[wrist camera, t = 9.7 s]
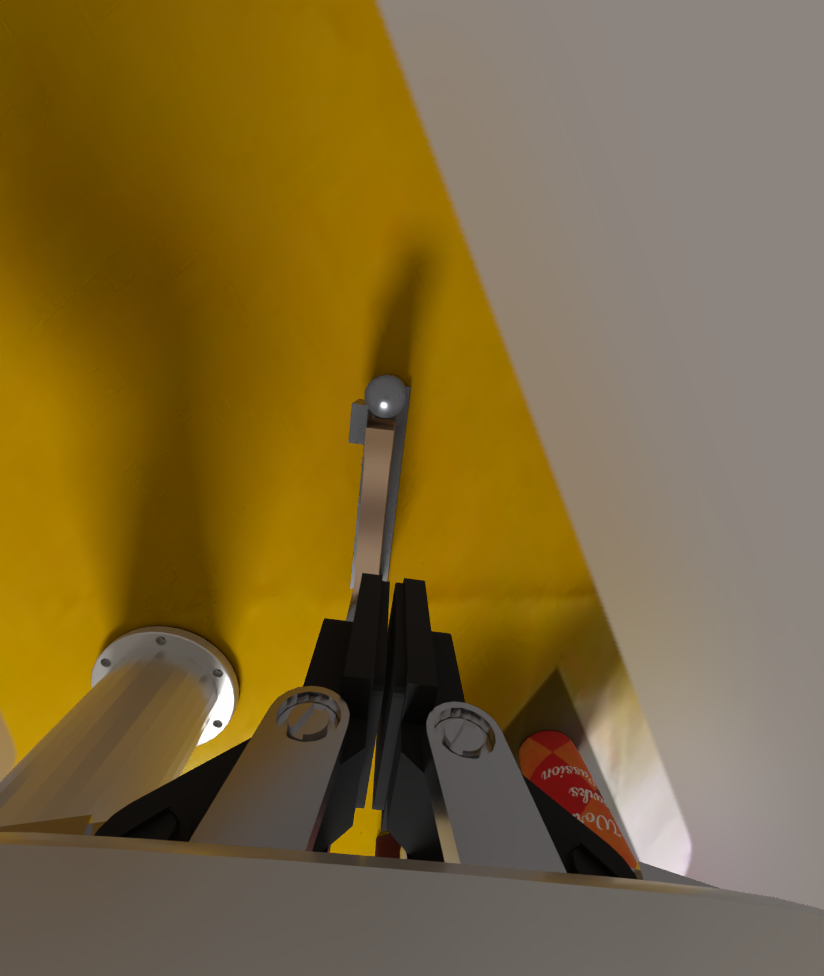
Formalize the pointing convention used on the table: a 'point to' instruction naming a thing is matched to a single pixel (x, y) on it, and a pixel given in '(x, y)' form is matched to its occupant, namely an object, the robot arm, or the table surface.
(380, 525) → the gate
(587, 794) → the paper cup
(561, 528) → the table surface
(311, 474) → the table surface
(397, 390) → the gate posts
